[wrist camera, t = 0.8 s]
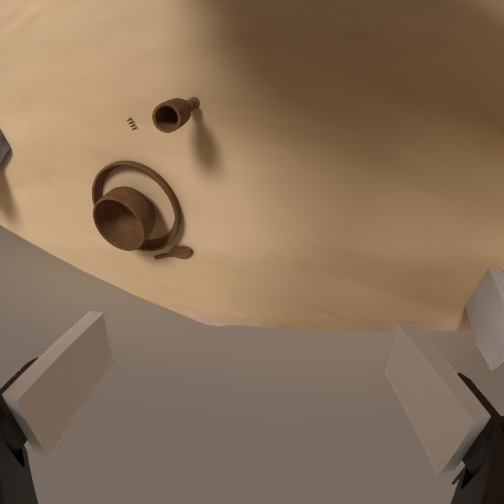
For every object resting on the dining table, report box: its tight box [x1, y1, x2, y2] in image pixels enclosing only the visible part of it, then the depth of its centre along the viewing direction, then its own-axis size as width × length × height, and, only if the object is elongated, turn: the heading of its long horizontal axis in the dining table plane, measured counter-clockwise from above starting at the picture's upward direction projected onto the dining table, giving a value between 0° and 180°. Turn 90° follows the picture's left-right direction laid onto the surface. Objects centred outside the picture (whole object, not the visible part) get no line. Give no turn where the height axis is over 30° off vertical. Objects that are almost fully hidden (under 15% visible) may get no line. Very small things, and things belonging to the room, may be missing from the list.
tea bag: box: [465, 268, 504, 371], centre depth 25 cm, size 4×7×10 cm, turn 0°
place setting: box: [92, 97, 200, 259], centre depth 29 cm, size 18×20×6 cm
